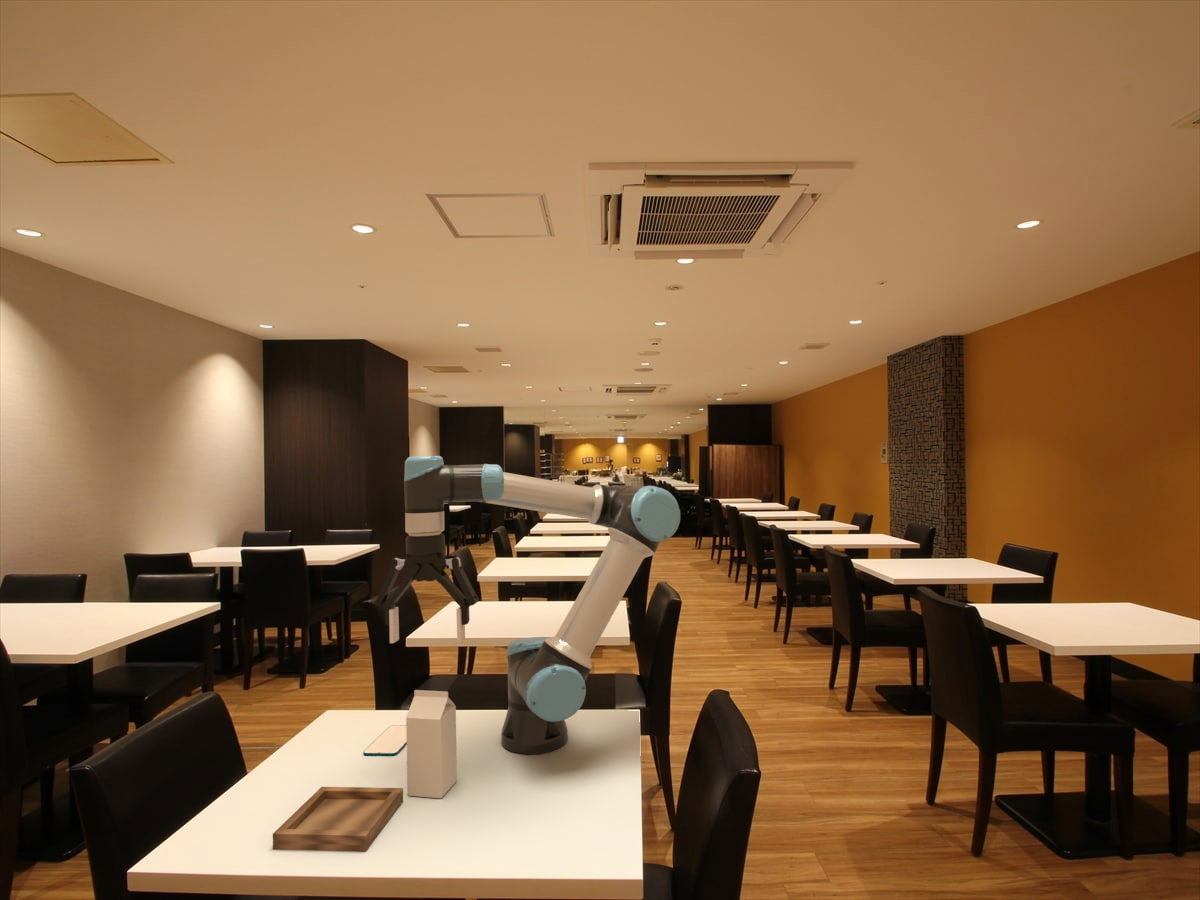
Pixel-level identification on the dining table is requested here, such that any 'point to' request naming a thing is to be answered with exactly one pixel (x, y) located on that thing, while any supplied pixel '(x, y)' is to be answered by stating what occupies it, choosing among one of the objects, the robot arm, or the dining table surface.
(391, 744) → the smartphone
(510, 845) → the dining table surface
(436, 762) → the milk carton
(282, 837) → the holder
